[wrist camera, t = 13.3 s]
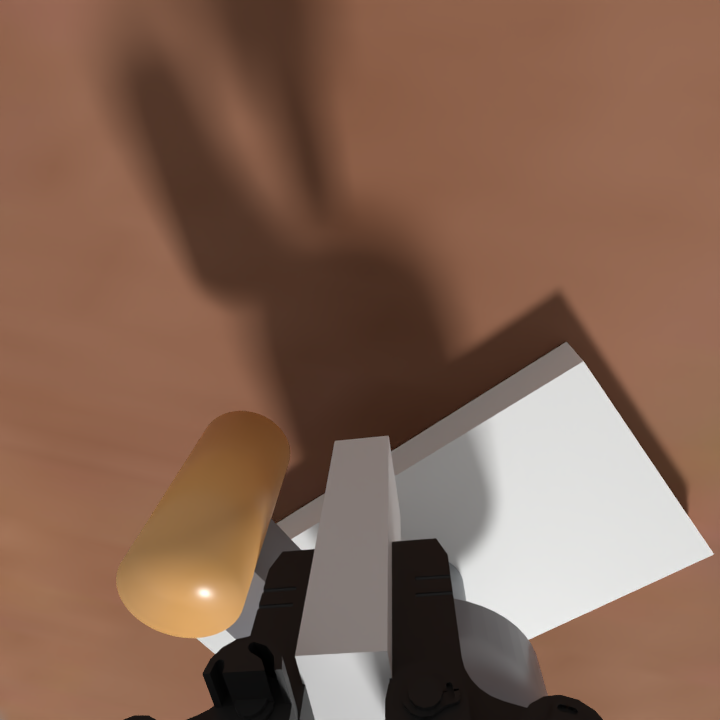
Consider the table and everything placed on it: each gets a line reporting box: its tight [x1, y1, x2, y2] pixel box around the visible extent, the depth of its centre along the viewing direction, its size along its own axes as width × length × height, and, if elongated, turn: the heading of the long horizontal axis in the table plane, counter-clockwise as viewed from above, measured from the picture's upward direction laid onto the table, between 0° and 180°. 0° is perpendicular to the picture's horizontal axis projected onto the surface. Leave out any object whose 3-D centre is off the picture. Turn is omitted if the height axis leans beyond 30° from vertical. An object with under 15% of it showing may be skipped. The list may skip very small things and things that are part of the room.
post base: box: [197, 342, 713, 654], centre depth 23 cm, size 22×11×6 cm, turn 128°
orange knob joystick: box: [116, 411, 548, 708], centre depth 17 cm, size 16×8×6 cm, turn 36°
